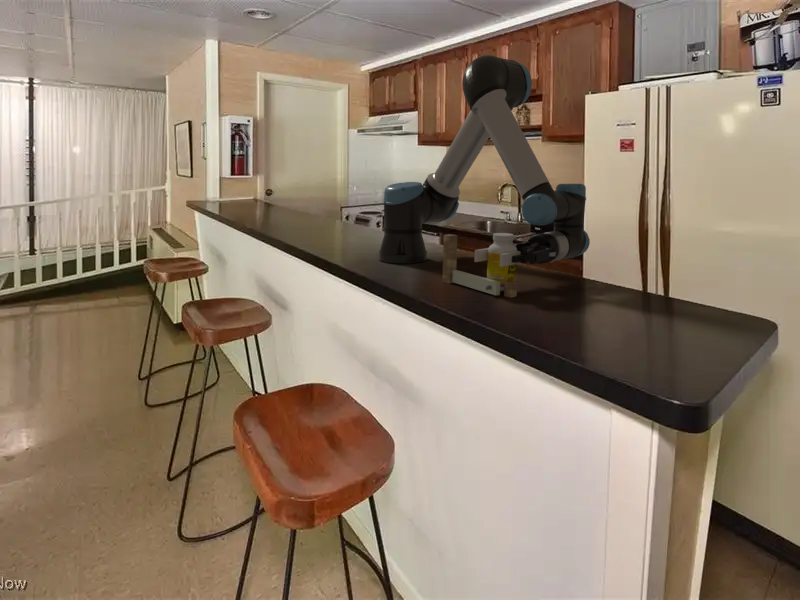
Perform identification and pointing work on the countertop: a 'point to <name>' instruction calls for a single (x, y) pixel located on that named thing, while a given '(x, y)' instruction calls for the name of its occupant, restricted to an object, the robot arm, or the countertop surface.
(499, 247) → the supplement bottle
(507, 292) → the wooden post frame
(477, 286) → the bar
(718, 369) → the countertop surface
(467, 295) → the countertop surface
